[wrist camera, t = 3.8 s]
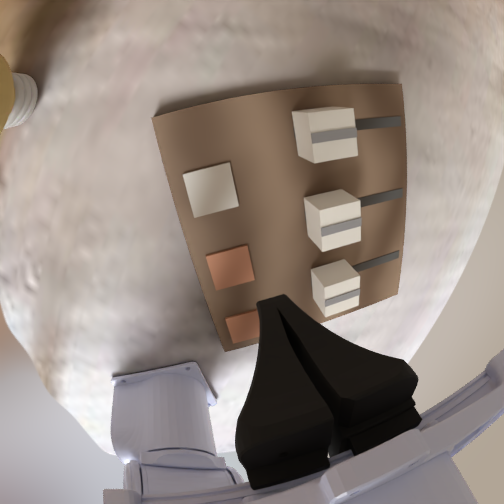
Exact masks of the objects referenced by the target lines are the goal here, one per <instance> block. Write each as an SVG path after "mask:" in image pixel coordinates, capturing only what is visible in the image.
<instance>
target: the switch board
mask: <svg viewBox="0 0 504 504" xmlns="http://www.w3.org/2000/svg"><path fill="white" fill-rule="evenodd" d="M324 107H346V108H354V117H355V127H356V128H357V149H358V156H354V157H348V158H342V159H336V160H331V161H325V162H320V163H312V162H310V161H308V160H306V159H304V158H302V157H300V156H298V150H297V143H296V136H295V130H294V123H293V117H292V111H299V110H306V109H315V108H324ZM152 122H153V126H154V130H155V134H156V138H157V142H158V146H159V150H160V153H161V157H162V161H163V165H164V168H165V172H166V175H167V179H168V183H169V186H170V190H171V193H172V197H173V200H174V203H175V207H176V210H177V213H178V217H179V220H180V223H181V227H182V230H183V233H184V236H185V239H186V243H187V246H188V249H189V252H190V255H191V258H192V261H193V264H194V267H195V270H196V273H197V276H198V279H199V282H200V285H201V288H202V291H203V294H204V297H205V299H206V302H207V305H208V308H209V311H210V314H211V316H212V319H213V322H214V325H215V327H216V330H217V333H218V335H219V338H220V341H221V343H222V346H223V349H224V351H225V352H227V351H231V350H235V349H239V348H242V347H246V346H249V345H253V344H256V343H259V334H260V323H259V316H258V311H257V306H256V303H257V302H258V301H261V300H264V299H268V298H271V297H275V296H278V295H282V294H285V295H287V296H288V297H289V298H290V299H291V300H292V301H293V302H294V303H295V304H296V305H297V306H298V307H300V308H301V309H302V310H303V311H304V312H305V313H307V314H308V315H309V316H310V317H312V318H313V319H314V320H315V321H317V322H318V323H323V322H326V321H328V320H331V319H334V318H337V317H340V316H342V315H345V314H348V313H351V312H353V311H356V310H359V309H361V308H364V307H367V306H369V305H372V304H374V303H377V302H379V301H382V300H384V299H387V298H389V297H392V296H394V295H397V294H398V288H399V280H400V273H401V264H402V255H403V245H404V233H405V217H406V193H407V151H406V128H405V113H404V101H403V91H402V84H344V85H327V86H314V87H303V88H294V89H285V90H278V91H270V92H264V93H257V94H251V95H245V96H240V97H234V98H229V99H224V100H219V101H215V102H210V103H206V104H201V105H197V106H193V107H189V108H185V109H181V110H177V111H174V112H170V113H166V114H163V115H159V116H156V117H153V118H152ZM339 189H342V190H344V191H346V192H347V193H349V194H351V195H352V196H354V197H355V198H357V199H359V200H360V206H361V218H362V226H361V241H358V242H355V243H352V244H348V245H345V246H341V247H338V248H335V249H331V250H328V251H324V252H322V251H321V250H320V249H319V248H318V246H317V245H316V244H315V243H314V242H313V241H312V240H311V239H310V238H309V236H308V232H307V223H306V213H305V204H304V197H308V196H313V195H317V194H321V193H326V192H330V191H335V190H339ZM343 259H345V260H346V261H347V262H348V263H349V264H350V265H351V266H352V268H353V269H354V270H355V271H356V272H357V273H358V274H359V275H360V295H359V306H356V307H353V308H350V309H348V310H345V311H342V312H339V313H337V314H334V315H331V316H328V317H325V316H324V314H323V313H322V311H321V310H320V308H319V307H318V305H317V304H316V302H315V300H314V299H313V290H312V277H311V269H313V268H317V267H320V266H323V265H327V264H330V263H333V262H336V261H340V260H343Z"/></svg>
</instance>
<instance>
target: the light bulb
mask: <svg viewBox="0 0 504 504" xmlns="http://www.w3.org/2000/svg"><path fill="white" fill-rule="evenodd" d="M37 92H38V91H37V86H36V83H35V81H34V80H33V78H32V77H30V76H29V75H27V74H20V73H12V72H11V70H10V67H9V65H8V63H7V61H6V60H5V58H4V57H3V56H2V55H1V54H0V134H1V132H2V130H3V129H6V128H10V127H14V126H18V125H20V124H22V123H23V122H25V121H26V120H27V119H28V118H29V116H30V115H31V114H32V112H33V110H34V108H35V105H36V102H37Z"/></svg>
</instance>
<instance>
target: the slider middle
mask: <svg viewBox="0 0 504 504" xmlns="http://www.w3.org/2000/svg"><path fill="white" fill-rule="evenodd" d="M304 204H305V213H306V223H307V232H308V236H309V238H310V239H311V240H312V241H313V242H314V243H315V244H316V245H317V246H318V248H319V249H320V250H321V251H322V252H324V251H328V250H331V249H335V248H338V247H341V246H345V245H348V244H352V243H355V242H358V241H361V226H362V218H361V206H360V200H359V199H357V198H355V197H354V196H352V195H351V194H349V193H347V192H346V191H344V190H342V189H339V190H335V191H330V192H326V193H321V194H317V195H313V196H308V197H304Z"/></svg>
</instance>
